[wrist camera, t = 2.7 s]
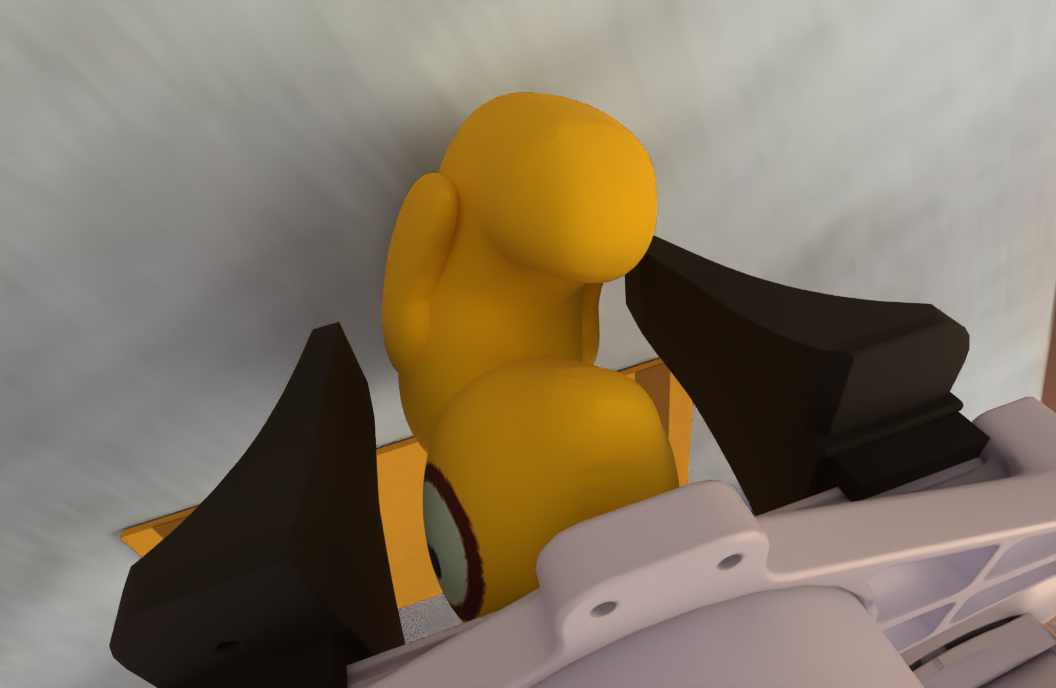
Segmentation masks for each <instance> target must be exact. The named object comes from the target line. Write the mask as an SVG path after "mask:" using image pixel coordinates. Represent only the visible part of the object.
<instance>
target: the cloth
mask: <svg viewBox="0 0 1056 688" xmlns="http://www.w3.org/2000/svg"><path fill="white" fill-rule="evenodd" d="M619 373H622V374H624V375H626V376H627V377H629V378H631V379H633V380H634V381H635V382H636V383H638V384H639V385H640V386H641V387H642V388H643V389H644V390H645V391H646V392H647V394H648V395H649V397H650V398H651V400H652V401H653V403H654V405H655V407H656V409H657V412H658V414H659V417H660V421H661V423H662V425H663V427H664V429H665V432H666V434H667V436H668V439H669V442H670V445H671V448H672V451H673V455H674V459H675V463H676V467H677V473H678V479H679V486H680V487H682V486H685V485H687V481H688V466H689V452H690V437H691V422H692V407H693V401H692V400H691V398H690V397H689V395H688V394H687V393H686V391H685V390H684V389H683V387H682V386H681V385H680V383H679V382H678V381H677V379H676V378H675V377H674V375H673V374H672V373H671V371H670V370H669V369H668V368H667V366H666V365H665V364H664V362H663V361H662V360H661V358H660V359H657V360H654V361H651V362H648V363H644V364H641V365H638V366H635V367H632V368H629V369H626V370H623V371H619ZM376 454H377V474H378V494H379V504H380V513H381V519H382V525H383V531H384V537H385V543H386V549H387V554H388V560H389V565H390V571H391V576H392V582H393V587H394V592H395V597H396V602H397V607H398V609H400V608H403V607H406V606H409V605H412V604H414V603H417V602H420V601H423V600H426V599H429V598H431V597H434V596H437V595H440V594H443V591H442V589H441V587H440V585H439V583H438V580H437V578H436V575H435V573H434V570H433V567H432V563H431V560H430V556H429V552H428V547H427V542H426V536H425V529H424V519H423V483H424V473H425V466H426V460H427V456H428V454H427V453H426V451H425V450H424V449H423V448H422V447H421V446H420V444H419V443H418V442H417V440H416V439H415V437H413V438H410V439H407V440H404V441H401V442H398V443H395V444H391V445H388V446H385V447H382V448H379V449H376ZM196 508H197V507H195V508H191V509H188V510H185V511H182V512H179V513H176V514H173V515H170V516H166V517H163V518H160V519H157V520H154V521H151V522H148V523H145V524H141V525H138V526H135V527H132V528H129V529H126V530H123V531H122V532H121V536H120V539H121V540H122V541H124V542H125V543H126V544H127V545H128V546H130V547H131V548H132V549H133V550H134V551H135V552H137V553H138V554H139V555H140V556H141V557H143V556H144V555H146V554H147V553H148V552H149V551H150V550H151V549H152V548H154V547H155V546H156V545H157V544H158V543H159V542H160V541H162V540H163V539H164V538H165V537H166V536H167V535H169V534H170V533H171V532H172V531H173V530H174V529H175V528H176V527H177V526H178V525H180V524H181V523H182V522H183V521H184V520H185V519H186V518H187V517H188V516H189V515H190V514H191V513H192V512H193V511H194V510H195V509H196Z"/></svg>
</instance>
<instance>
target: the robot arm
mask: <svg viewBox="0 0 1056 688" xmlns="http://www.w3.org/2000/svg"><path fill="white" fill-rule="evenodd" d="M625 293H626V305H627V307H628V309H629V311H630V312H631V314H632V316H633V318H634V320H635V322H636V324H637V325H638V327H639V329H640V331H641V332H642V334H643V335H644V337H645V338H646V340H647V341H648V342H649V344H650V345H651V346H652V348H653V349H654V350H655V352H656V353H657V354H658V356H659V357H660V358H661V360H662V361H663V362H664V364H665V365H666V366H667V368H668V369H669V370H670V371H671V373H672V374H673V375H674V377H675V378H676V379H677V381H678V382H679V383H680V385H681V386H682V387H683V389H684V390H685V391H686V393H687V394H688V395H689V397H690V398H691V400H692V401H693V403H694V404H695V406H696V407H697V409H698V411H699V412H700V414H701V416H702V417H703V419H704V421H705V422H706V424H707V426H708V428H709V429H710V431H711V433H712V434H713V436H714V438H715V440H716V441H717V443H718V445H719V447H720V449H721V450H722V452H723V454H724V456H725V458H726V459H727V461H728V463H729V465H730V467H731V469H732V471H733V473H734V474H735V476H736V478H737V480H738V482H739V484H740V486H741V488H742V490H743V492H744V494H745V496H746V498H747V500H748V502H749V504H750V506H751V508H752V510H753V512H754V516H753V514H752V513H751V511H750V510H749V508H748V507H747V505H746V504H745V503H744V501H743V500H742V498H741V497H740V495H739V494H738V492H737V491H736V490H735V488H734V487H733V485H729V484H726V483H723V482H720V481H717V480H708V481H702V482H697V483H692V484H688V485H685V486H682V487H679V488H676V489H674V490H671V491H668V492H665V493H662V494H659V495H656V496H654V497H651V498H648V499H645V500H642V501H639V502H637V503H634V504H631V505H628V506H625V507H622V508H619V509H617V510H614V511H611V512H608V513H605V514H602V515H600V516H597V517H594V518H591V519H588V520H585V521H583V522H580V523H578V524H576V525H574V526H572V527H570V528H568V529H566V530H564V531H562V532H560V533H558V534H556V536H555V537H554V538H553V539H552V540H551V541H550V542H549V543H548V544H547V545H546V546H545V547H544V548H543V549H542V550H541V552H540V553H539V555H538V560H537V565H536V570H535V571H536V574H537V578H538V581H539V588H538V589H536V590H534V591H533V592H531V593H529V594H527V595H526V596H524V597H522V598H520V599H519V600H517V601H515V602H513V603H512V604H510V605H508V606H506V607H505V608H503V609H501V610H498V611H495V612H493V613H490V614H487V615H484V616H482V617H479V618H476V619H473V620H471V621H468V622H465V623H462V624H460V625H457V626H454V627H452V628H449V629H446V630H443V631H441V632H438V633H435V634H432V635H430V636H427V637H424V638H421V639H419V640H416V641H413V642H410V643H408V644H405V641H404V636H403V632H402V627H401V622H400V617H399V612H398V607H397V602H396V597H395V592H394V587H393V582H392V576H391V571H390V565H389V560H388V554H387V549H386V543H385V537H384V531H383V525H382V519H381V513H380V504H379V494H378V474H377V454H376V436H375V419H374V413H373V407H372V402H371V397H370V392H369V387H368V382H367V380H366V378H365V376H364V374H363V372H362V370H361V367H360V365H359V363H358V361H357V359H356V357H355V355H354V353H353V350H352V348H351V346H350V344H349V342H348V340H347V338H346V335H345V333H344V331H343V329H342V327H341V325H340V323H339V322H336V323H333V324H330V325H326V326H323V327H319V328H316V329H313V331H312V333H311V334H310V337H309V339H308V341H307V343H306V345H305V348H304V350H303V352H302V354H301V357H300V359H299V361H298V363H297V365H296V367H295V370H294V372H293V374H292V376H291V378H290V380H289V382H288V384H287V386H286V388H285V390H284V392H283V394H282V395H281V397H280V399H279V401H278V403H277V404H276V406H275V408H274V409H273V411H272V413H271V415H270V416H269V418H268V420H267V422H266V423H265V425H264V426H263V428H262V429H261V431H260V432H259V434H258V435H257V437H256V438H255V440H254V441H253V442H252V444H251V445H250V446H249V448H248V449H247V451H246V452H245V453H244V455H243V456H242V457H241V458H240V460H239V461H238V462H237V463H236V464H235V466H234V467H233V468H232V469H231V470H230V471H229V473H228V474H227V475H226V476H225V477H224V479H223V480H222V481H221V482H220V483H219V484H218V486H217V487H216V488H215V489H214V490H213V491H212V492H211V493H210V494H209V496H208V497H207V498H206V499H205V500H204V501H203V502H202V503H201V504H200V505H199V506H198V507H197V508H196V509H195V510H194V511H193V512H192V513H191V514H190V515H189V516H188V517H187V518H186V519H185V520H184V521H183V522H182V523H181V524H180V525H178V526H177V527H176V528H175V529H174V530H173V531H172V532H171V533H170V534H169V535H167V536H166V537H165V538H164V539H163V540H162V541H160V542H159V543H158V544H157V545H156V546H155V547H154V548H152V549H151V550H150V551H149V552H148V553H147V554H146V555H144V556H143V557H142V558H141V559H140V560H139V561H137V562H136V563H135V564H134V565H132V566H131V568H130V571H129V574H128V577H127V580H126V583H125V586H124V589H123V593H122V597H121V601H120V605H119V609H118V613H117V617H116V621H115V625H114V629H113V633H112V637H111V641H110V645H109V647H110V650H111V652H112V655H113V657H114V658H115V659H116V660H117V661H118V662H119V663H120V664H122V665H123V666H124V667H125V668H126V669H128V670H129V671H131V672H133V673H134V674H136V675H138V676H139V677H141V678H142V679H144V680H146V681H147V682H149V683H151V684H152V685H154V686H156V687H157V688H1056V637H1055V636H1054V635H1053V634H1052V633H1051V632H1050V631H1049V630H1048V629H1047V628H1046V627H1045V626H1044V625H1043V624H1044V623H1046V622H1048V621H1049V620H1051V619H1052V618H1054V617H1055V616H1056V413H1055V412H1053V411H1052V410H1051V409H1049V408H1048V407H1046V406H1045V405H1044V404H1042V403H1041V402H1039V401H1038V400H1037V399H1035V398H1034V397H1025V398H1022V399H1019V400H1016V401H1014V402H1011V403H1008V404H1005V405H1002V406H1000V407H997V408H994V409H991V410H989V411H986V412H984V413H983V414H981V415H979V416H978V417H977V418H975V419H974V420H973V421H972V422H970V421H969V420H968V419H967V418H966V417H964V416H963V415H962V414H961V413H960V412H958V411H960V410H961V409H962V408H963V403H962V401H961V400H959V399H958V398H957V397H956V396H955V395H953V394H952V393H951V392H950V390H951V388H952V386H953V384H954V382H955V380H956V378H957V376H958V374H959V372H960V370H961V368H962V366H963V364H964V362H965V360H966V357H967V354H968V351H969V334H968V332H967V330H966V328H965V327H963V326H962V325H960V324H959V323H958V322H956V321H955V320H953V319H952V318H950V317H949V316H947V315H946V314H945V313H943V312H942V311H940V310H939V309H937V308H936V307H935V306H933V305H931V304H921V303H903V302H884V301H873V300H864V299H856V298H847V297H841V296H834V295H828V294H823V293H817V292H812V291H807V290H802V289H798V288H793V287H789V286H785V285H781V284H778V283H774V282H770V281H767V280H763V279H760V278H757V277H754V276H750V275H748V274H745V273H742V272H739V271H736V270H734V269H731V268H728V267H725V266H723V265H720V264H718V263H715V262H713V261H711V260H708V259H706V258H703V257H701V256H699V255H696V254H694V253H692V252H690V251H687V250H685V249H683V248H681V247H679V246H676V245H674V244H672V243H670V242H667V241H665V240H663V239H661V238H658V237H656V236H654V235H653V238H652V240H651V243H650V245H649V247H648V249H647V251H646V253H645V254H644V256H643V258H642V259H641V260H640V261H639V263H638V264H637V265H636V266H635V267H634V268H633V269H632V270H631V271H629V272H628V273H626V274H625ZM1049 626H1050V627H1051V628H1052V629H1053V630H1054V631H1055V633H1056V621H1054V622H1053V623H1051V624H1049Z"/></svg>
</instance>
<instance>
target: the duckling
mask: <svg viewBox="0 0 1056 688" xmlns="http://www.w3.org/2000/svg"><path fill="white" fill-rule="evenodd" d="M656 220H657V187H656V178H655V173H654V169H653V166H652V163H651V160H650V158H649V156H648V154H647V152H646V150H645V149H644V147H643V146H642V144H641V143H640V142H639V140H638V139H637V138H636V137H635V136H634V135H633V134H632V133H631V132H630V131H629V130H628V129H627V128H626V127H624V126H623V125H622V124H621V123H619V122H618V121H616V120H615V119H613V118H612V117H610V116H609V115H608V114H606V113H604V112H602V111H600V110H598V109H596V108H594V107H592V106H590V105H588V104H585V103H582V102H579V101H577V100H573V99H569V98H565V97H562V96H556V95H548V94H541V93H532V92H519V93H511V94H506V95H503V96H499V97H496V98H494V99H492V100H490V101H488V102H486V103H485V104H483V105H482V106H480V107H479V108H478V109H476V110H475V111H474V112H473V113H472V114H471V115H470V116H469V117H468V118H467V120H466V121H465V122H464V123H463V125H462V126H461V127H460V129H459V130H458V132H457V133H456V135H455V137H454V138H453V140H452V142H451V144H450V146H449V148H448V150H447V152H446V154H445V156H444V159H443V161H442V164H441V166H440V169H439V172H438V173H429V174H425V175H423V176H422V177H421V178H419V179H418V180H417V181H416V182H415V183H414V185H413V186H412V188H411V189H410V191H409V192H408V194H407V196H406V198H405V200H404V202H403V205H402V207H401V209H400V212H399V215H398V218H397V221H396V225H395V228H394V232H393V235H392V239H391V242H390V246H389V250H388V256H387V263H386V271H385V279H384V288H383V297H382V329H383V337H384V342H385V347H386V351H387V354H388V357H389V359H390V361H391V363H392V365H393V367H394V368H395V369H396V371H397V372H398V379H399V390H400V397H401V403H402V407H403V411H404V414H405V417H406V420H407V423H408V425H409V427H410V429H411V431H412V433H413V435H414V437H415V439H416V440H417V442H418V443H419V444H420V446H421V447H422V448H423V449H424V450H425V451H426V453H427V454H428V456H427V460H426V466H425V473H424V483H423V519H424V529H425V536H426V542H427V547H428V552H429V556H430V560H431V563H432V567H433V570H434V573H435V575H436V578H437V580H438V583H439V585H440V587H441V589H442V591H443V593H444V595H445V597H446V599H447V601H448V602H449V604H450V605H451V607H452V609H453V610H454V612H455V613H456V614H457V616H458V617H459V618H460V619H461V621H462V622H463V623H465V622H468V621H471V620H473V619H476V618H479V617H482V616H484V615H487V614H490V613H493V612H495V611H498V610H501V609H503V608H505V607H506V606H508V605H510V604H512V603H513V602H515V601H517V600H519V599H520V598H522V597H524V596H526V595H527V594H529V593H531V592H533V591H534V590H536V589H538V588H539V581H538V578H537V574H536V571H535V570H536V565H537V560H538V555H539V553H540V552H541V550H542V549H543V548H544V547H545V546H546V545H547V544H548V543H549V542H550V541H551V540H552V539H553V538H554V537H555V536H556V534H558V533H560V532H562V531H564V530H566V529H568V528H570V527H572V526H574V525H576V524H578V523H580V522H583V521H585V520H588V519H591V518H594V517H597V516H600V515H602V514H605V513H608V512H611V511H614V510H617V509H619V508H622V507H625V506H628V505H631V504H634V503H637V502H639V501H642V500H645V499H648V498H651V497H654V496H656V495H659V494H662V493H665V492H668V491H671V490H674V489H676V488H679V487H680V486H679V479H678V473H677V467H676V463H675V459H674V455H673V451H672V448H671V445H670V442H669V439H668V436H667V434H666V432H665V429H664V427H663V425H662V423H661V421H660V417H659V414H658V412H657V409H656V407H655V405H654V403H653V401H652V400H651V398H650V397H649V395H648V394H647V392H646V391H645V390H644V389H643V388H642V387H641V386H640V385H639V384H638V383H636V382H635V381H634V380H633V379H631V378H629V377H627V376H626V375H624V374H622V373H619V372H616V371H612V370H609V369H604V368H600V367H597V366H594V365H593V363H594V361H595V359H596V356H597V353H598V348H599V312H598V306H599V298H600V292H601V288H602V285H603V282H610V281H613V280H615V279H618V278H620V277H622V276H623V275H625V274H626V273H628V272H629V271H631V270H632V269H633V268H634V267H635V266H636V265H637V264H638V263H639V261H640V260H641V259H642V258H643V256H644V254H645V253H646V251H647V249H648V247H649V245H650V243H651V240H652V238H653V235H654V231H655V226H656Z"/></svg>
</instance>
